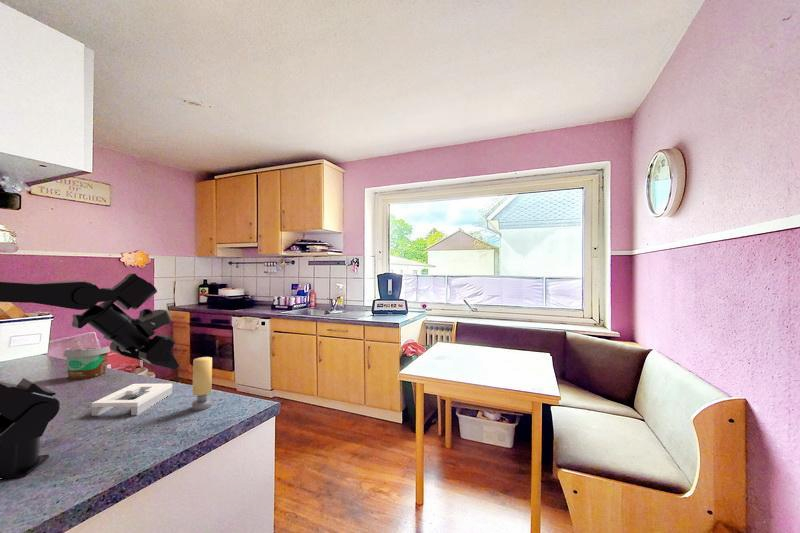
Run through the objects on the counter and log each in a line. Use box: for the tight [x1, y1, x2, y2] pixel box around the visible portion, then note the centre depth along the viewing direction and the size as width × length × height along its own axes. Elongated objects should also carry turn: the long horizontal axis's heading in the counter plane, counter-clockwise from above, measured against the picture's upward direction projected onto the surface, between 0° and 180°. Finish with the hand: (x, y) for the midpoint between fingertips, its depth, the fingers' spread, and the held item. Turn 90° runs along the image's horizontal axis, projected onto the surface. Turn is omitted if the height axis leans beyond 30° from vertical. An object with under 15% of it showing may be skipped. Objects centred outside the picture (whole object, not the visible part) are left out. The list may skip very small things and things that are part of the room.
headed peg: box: [191, 356, 213, 412], centre depth 88 cm, size 4×4×13 cm
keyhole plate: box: [91, 383, 173, 417], centre depth 89 cm, size 14×11×3 cm
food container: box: [63, 345, 111, 381], centre depth 109 cm, size 12×6×10 cm, turn 105°
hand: (167, 364), depth 82 cm, fingers open, 9 cm apart
